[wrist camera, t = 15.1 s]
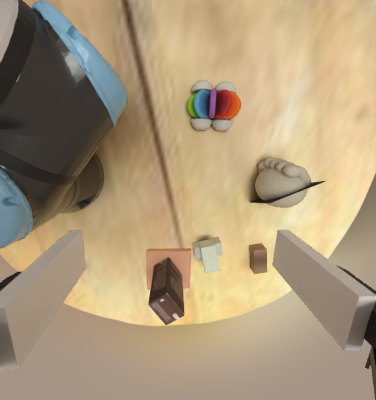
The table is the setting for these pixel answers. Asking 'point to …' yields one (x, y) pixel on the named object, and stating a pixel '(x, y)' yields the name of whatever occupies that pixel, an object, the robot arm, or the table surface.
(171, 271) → the box
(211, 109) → the rainbow disc rolling toy
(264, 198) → the decorative object
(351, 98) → the table surface
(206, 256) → the pale green brick
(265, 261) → the walnut brick
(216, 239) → the grey brick
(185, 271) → the tile
